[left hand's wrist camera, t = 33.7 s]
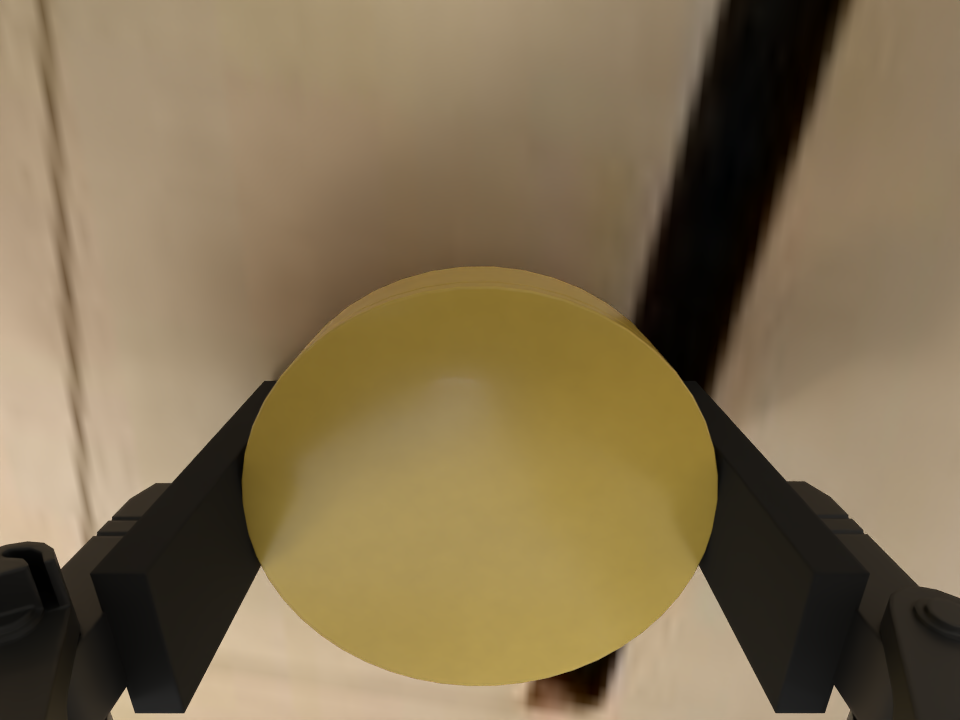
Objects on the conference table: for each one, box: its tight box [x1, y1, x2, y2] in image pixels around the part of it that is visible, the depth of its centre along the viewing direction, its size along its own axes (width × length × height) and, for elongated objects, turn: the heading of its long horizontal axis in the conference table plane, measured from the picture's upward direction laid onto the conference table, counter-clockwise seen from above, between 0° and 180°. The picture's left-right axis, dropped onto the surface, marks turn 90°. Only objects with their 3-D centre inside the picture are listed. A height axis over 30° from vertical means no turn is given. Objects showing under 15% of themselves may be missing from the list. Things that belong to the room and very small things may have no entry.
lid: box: [242, 266, 718, 686], centre depth 11 cm, size 9×9×2 cm
